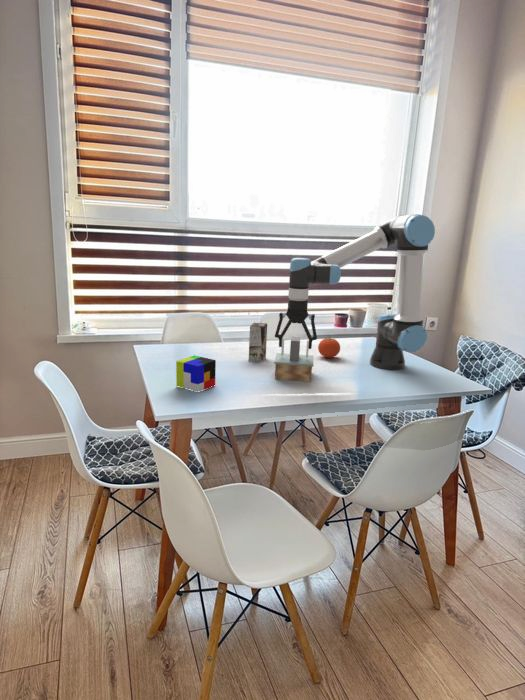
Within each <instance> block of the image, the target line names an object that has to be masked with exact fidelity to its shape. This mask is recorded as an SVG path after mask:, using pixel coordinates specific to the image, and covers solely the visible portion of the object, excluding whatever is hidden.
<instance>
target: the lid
mask: <svg viewBox="0 0 525 700" xmlns="http://www.w3.org/2000/svg"><path fill="white" fill-rule="evenodd" d="M300 350H301V337H299V336H291V338H290V348H289V351H290V352H289V353H284V354H283V356H281V352H280V353H279V352H277V353H276V355H275V358H274V362H273V364H274V365H276V364H284V365H298V366H312V367H314V366H315V365H314V364H315V363H314V359H315V358H314V355H309V354H308V358H306V354H300Z"/></svg>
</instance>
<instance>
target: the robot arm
mask: <svg viewBox="0 0 525 700" xmlns="http://www.w3.org/2000/svg"><path fill="white" fill-rule="evenodd" d="M435 227H436V226H435V225H434V222H433V221H432V220H431V218H430V217H428V216H426V215H424V214H417V213H416V214H399V215H397V216H393V217H392V218H390V219H388V220H386V221H385V222H383V223H381V224H379V225H377V226H375V227H374V229H373V231H371V232H369V233H366V234H365V235H363V236H361V237H358V238H356V239H354V240H353V241H350V242H349V243H346V244H344V245H343V246H340V247H339V248H337V249H335V250H332V251H331V252H329V253H326V254H324V255H322V256H320V257H318V258H316V259H314V260H311V259H310V258H305V257H293V258H292V259H290V264H289V280H288V281H289V283H288V284H289V285H288V296H287V297H288V298H289V299H287V311H286V312H282V311H280V312H279V314H278V316H279V319H278V324H277V327H276V331H275V333H274V338H277V339H278V347H279V348H281V352H280V353H281V356H283V354H285V353H284V350H285V338H284V336H285V334H286V332H287V331H288V330H289V328H290V326H291V325H292V324H300V325H301V326H302V328H303V330H304V332H305V335H306V336H307V338H308V339H307V340H306V349H305V350H306V352H305V355H306V358H308V355H309V350H311V349H312V347H313V341H316V340H317V339H318V336H317V330H316V324H315V323H316V322H315V317H316V314H314V313H308V305H309V304H308V302H309V301H308V299H309V291H310V290H309V289H310V288H309V287H310V286H309V285H310V284H311V285H315V284H316V285H329V286H330V285H337V284H338V283H339V282H340V280H341V276H342V273H341V269H342V268H343V267H344V266H347V265H349V264H351V263H353V262H355V261H357V260H359V259H361V258H363V257H365V256H367V255H369V254H371V253H374V252H375V251H378V250H380V249H387V248H390V247H393V246H396V251H397V252H398V254H399V255H400V261H399V262H400V263H399V280H398V283H399V284H398V295H397V296H398V297H397V298H398V299H397V313H393V314H392V313H391V314H390V313H386V314H385V313H383V314H380V315H379V316H378V320H377V327H376V328H377V329H376V330H377V331H376V341H375V346H374V349H373V352H372V353H371V356H370V358H369V359H370V360H369V364H370V365H371V366H373V367H375V368H379V369H384V370H400V369H402V370H403V369H404V368H405V365H406V360H405V355H404V352H406V353H416V352H418V351H419V350H421V349H422V348H423V347H424V346H425V345H426V342H427V341H428V332H427V330H426V329H425V327H423V324H424V318H423V317H422V315H420V309H421V299H422V297H421V295H422V281H423V267H424V266H423V265H424V255H425V253H427V252H428V251H429V250H428V249H429V245H430V244H431V243H432V241H433V240H434V237H435V234H436V229H435ZM286 316H287V318H288V321H287V322H286V325H285V326H284V328H283V330H282V331H281V333H280V330H281V327H282V323H283V319H285V318H286ZM307 318H308V319H309V320H310V324H311V330H312V335H311V331H310V330H309V328H308V325H307V323H306V321H305V320H306V319H307Z"/></svg>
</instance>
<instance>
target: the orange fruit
mask: <svg viewBox="0 0 525 700" xmlns="http://www.w3.org/2000/svg"><path fill="white" fill-rule="evenodd" d="M317 349H318V353H319V354H320V355H321V357H324V358H327V359H330V358H335V357H337V355H339V353H340V351H341V345H340V343H339V341H338V340H337V339H336V338H331V337H328V338H327V337H326V338H325V337H324V338H323V339H322V340H321V341H319V343H318V345H317Z"/></svg>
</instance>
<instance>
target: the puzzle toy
mask: <svg viewBox="0 0 525 700" xmlns="http://www.w3.org/2000/svg"><path fill="white" fill-rule="evenodd" d="M175 362H176V364H175V365H176V375H175V376H176V377H175V378H176V387H177V386H180V387H183V388H187V389H191V390H193V391H197V392H198V391H201V390H204V389H206V388H209V387H211V386H214V385H215V386H216V366H217V365H216V359H213V358H208V357H204V356H200V355H196V354H195V355H191V356H188V357H185V358H182V359H181V358H180V359H179V360H176V361H175ZM215 386H214V387H215ZM211 388H212V387H211ZM209 389H210V388H209ZM204 391H205V390H204Z"/></svg>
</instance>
